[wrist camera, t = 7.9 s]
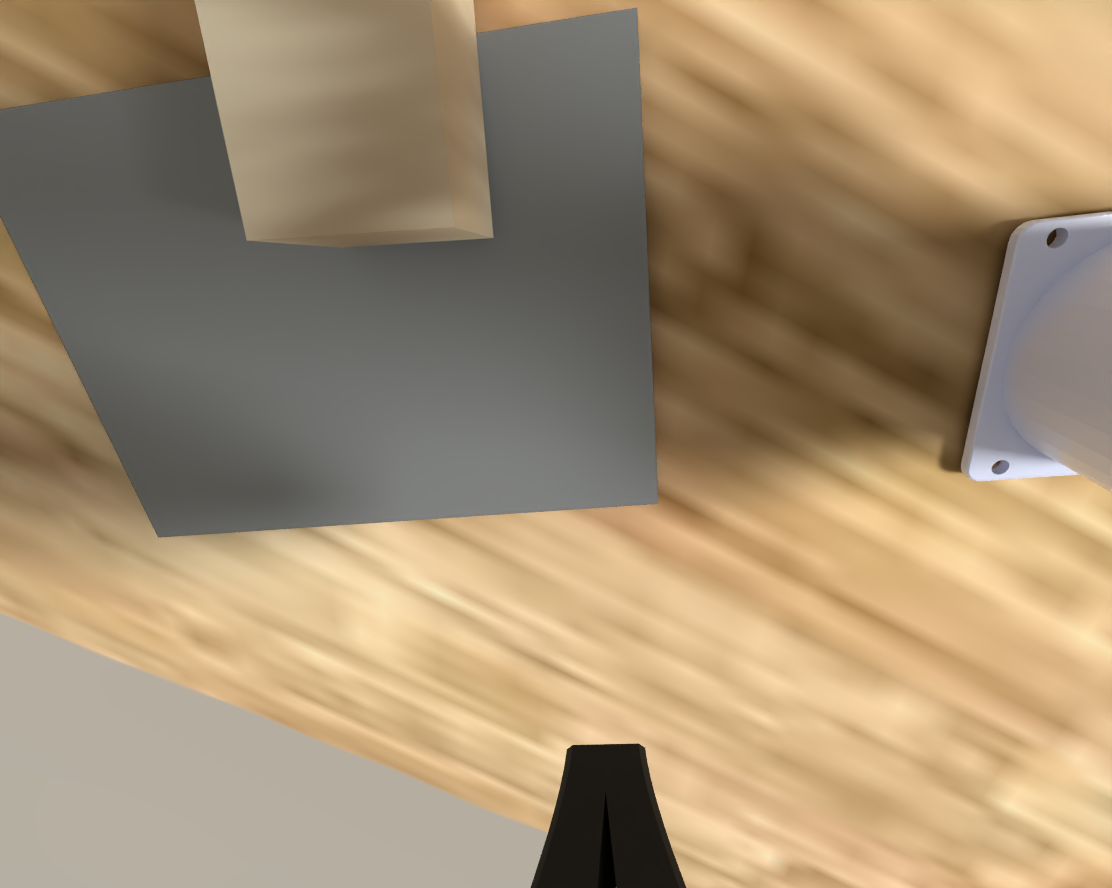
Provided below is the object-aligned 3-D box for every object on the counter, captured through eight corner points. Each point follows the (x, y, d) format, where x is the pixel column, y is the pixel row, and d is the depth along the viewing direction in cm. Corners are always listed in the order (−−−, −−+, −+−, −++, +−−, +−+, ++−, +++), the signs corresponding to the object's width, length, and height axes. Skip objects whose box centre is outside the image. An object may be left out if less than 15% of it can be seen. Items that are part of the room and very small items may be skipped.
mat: (635, 15, 14) (637, 7, 13) (656, 495, 19) (658, 503, 19) (-27, 120, 16) (-49, 117, 15) (169, 528, 21) (158, 537, 21)
